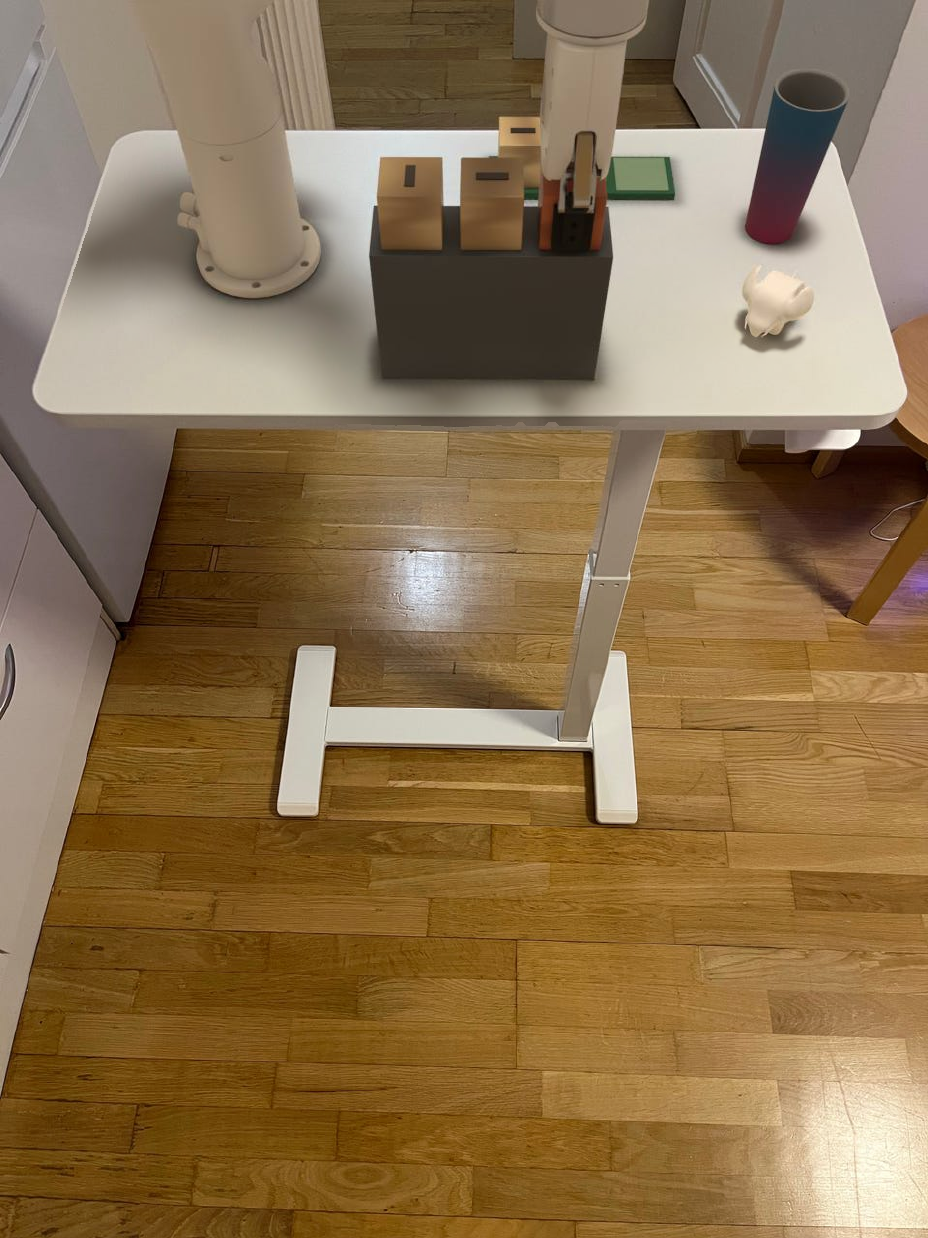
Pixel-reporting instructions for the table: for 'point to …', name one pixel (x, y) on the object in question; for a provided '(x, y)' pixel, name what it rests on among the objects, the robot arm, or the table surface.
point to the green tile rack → (622, 180)
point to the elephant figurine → (774, 301)
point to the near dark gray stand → (479, 279)
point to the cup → (793, 150)
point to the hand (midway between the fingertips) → (568, 223)
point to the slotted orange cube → (550, 197)
